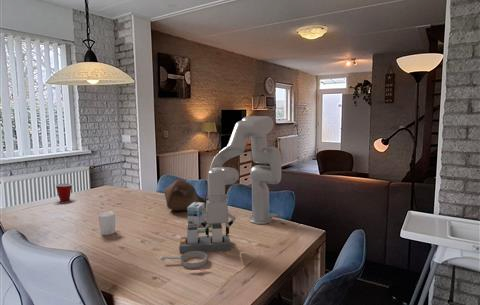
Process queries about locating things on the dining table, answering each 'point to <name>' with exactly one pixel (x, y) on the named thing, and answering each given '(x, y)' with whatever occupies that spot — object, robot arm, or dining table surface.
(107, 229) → the white cup
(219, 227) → the plug
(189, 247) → the strip
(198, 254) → the saucepan
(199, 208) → the light bulb box
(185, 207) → the jug
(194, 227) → the light grey peg
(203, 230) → the tray
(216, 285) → the dining table surface
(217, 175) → the robot arm
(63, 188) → the plastic cup
